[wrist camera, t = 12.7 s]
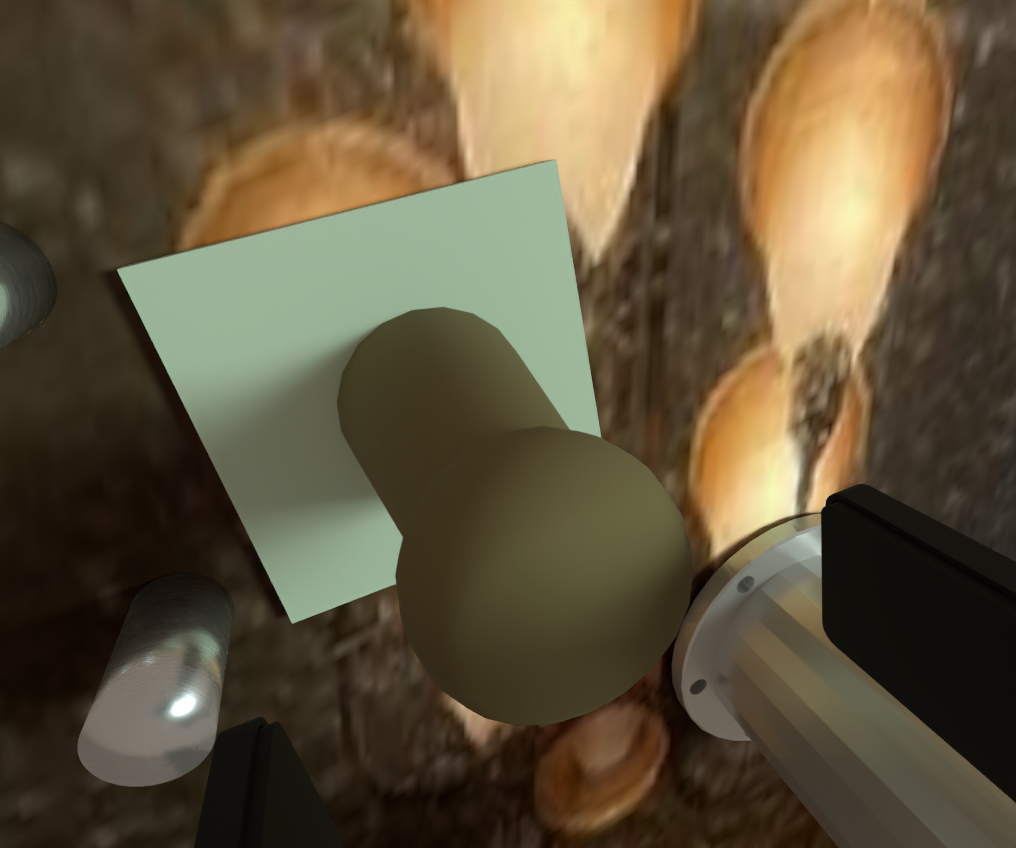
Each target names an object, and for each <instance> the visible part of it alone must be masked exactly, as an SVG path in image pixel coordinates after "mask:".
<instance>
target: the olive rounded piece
mask: <svg viewBox="0 0 1016 848" xmlns="http://www.w3.org/2000/svg"><path fill="white" fill-rule="evenodd" d="M337 408H338V414H339V420H340V427H341V432H342V434H343V436H344V437H345V439H346V441H347V443H348V445H349V446H350V448H351V450H352V452H353V454H354V455H355V457H356V459H357V461H358V462H359V464H360V466H361V467H362V469H363V471H364V472H365V474H366V476H367V478H368V479H369V481H370V483H371V484H372V486H373V488H374V489H375V491H376V493H377V494H378V496H379V498H380V500H381V501H382V503H383V505H384V506H385V508H386V510H387V511H388V513H389V515H390V517H391V518H392V520H393V522H394V523H395V525H396V527H397V528H398V530H399V532H400V533H401V535H402V537H403V539H402V543H401V547H400V552H399V556H398V562H397V568H396V573H395V578H396V586H397V593H398V600H399V608H400V615H401V619H402V624H403V629H404V633H405V637H406V639H407V640H408V642H409V644H410V645H411V647H412V649H413V650H414V652H415V654H416V655H417V657H418V658H419V660H420V662H421V663H422V665H423V667H424V668H425V670H426V671H427V673H428V674H429V676H430V677H431V679H432V680H433V681H434V683H435V684H436V686H437V687H438V688H439V689H440V690H442V691H443V692H445V693H446V694H448V695H449V696H450V697H452V698H453V699H455V700H456V701H458V702H459V703H461V704H462V705H464V706H465V707H466V708H468V709H470V710H472V711H473V712H475V713H477V714H479V715H481V716H483V717H484V718H487V719H491V720H495V721H499V722H504V723H508V724H512V725H516V726H528V725H544V724H556V723H559V722H562V721H565V720H568V719H572V718H575V717H578V716H581V715H584V714H587V713H590V712H593V711H594V710H596V709H598V708H599V707H601V706H603V705H605V704H606V703H608V702H610V701H612V700H613V699H615V698H617V697H619V696H620V695H622V694H624V693H625V692H626V691H628V690H629V689H630V688H631V687H632V686H633V685H634V684H635V683H637V682H638V681H639V680H640V679H641V678H642V677H643V676H644V675H646V674H647V673H648V672H649V671H650V670H651V669H652V668H653V667H654V666H655V665H656V664H657V662H658V661H659V659H660V658H661V657H662V655H663V654H664V653H665V651H666V650H667V648H668V647H669V646H670V644H671V643H672V642H673V640H674V639H675V638H676V636H677V633H678V631H679V628H680V626H681V624H682V621H683V619H684V616H685V614H686V611H687V609H688V607H689V604H690V595H691V585H692V575H693V566H692V556H691V548H690V544H689V540H688V537H687V533H686V529H685V525H684V521H683V517H682V515H681V513H680V512H679V510H678V508H677V507H676V505H675V503H674V502H673V500H672V498H671V497H670V495H669V494H668V493H667V491H666V490H665V489H664V488H663V486H662V485H661V484H660V482H659V481H658V480H657V478H656V477H655V476H654V475H653V473H652V472H651V471H650V469H649V468H648V467H646V466H645V465H644V464H642V463H641V462H640V461H639V460H637V459H636V458H635V457H633V456H632V455H631V454H629V453H627V452H625V451H623V450H622V449H620V448H618V447H616V446H615V445H613V444H611V443H609V442H607V441H606V440H604V439H602V438H600V437H598V436H595V435H591V434H588V433H584V432H580V431H574V430H570V429H569V427H568V426H567V425H566V423H565V422H564V420H563V419H562V417H561V416H560V414H559V413H558V411H557V410H556V408H555V407H554V405H553V404H552V403H551V401H550V400H549V398H548V397H547V395H546V394H545V392H544V391H543V389H542V388H541V386H540V385H539V384H538V382H537V381H536V379H535V378H534V376H533V375H532V373H531V372H530V370H529V369H528V367H527V366H526V365H525V363H524V362H523V360H522V359H521V357H520V356H519V354H518V353H517V351H516V350H515V349H514V348H513V346H512V345H511V344H510V343H509V341H508V340H507V339H506V338H505V336H504V335H503V334H502V333H501V332H500V330H499V329H498V328H496V327H495V326H493V325H491V324H490V323H488V322H486V321H485V320H483V319H482V318H480V317H478V316H477V315H475V314H473V313H469V312H465V311H460V310H456V309H451V308H447V307H437V308H427V309H417V310H411V311H409V312H406V313H404V314H402V315H400V316H397V317H395V318H393V319H391V320H388V321H386V322H384V323H382V324H381V325H380V326H379V327H377V328H376V329H375V330H374V331H373V332H372V333H371V334H370V335H369V336H367V337H366V338H365V339H364V340H363V341H362V342H361V343H360V344H358V346H357V348H356V349H355V351H354V353H353V355H352V356H351V358H350V360H349V362H348V363H347V365H346V367H345V369H344V370H343V372H342V377H341V382H340V387H339V393H338V398H337Z"/></svg>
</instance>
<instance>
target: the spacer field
mask: <svg viewBox="0 0 1016 848" xmlns="http://www.w3.org/2000/svg"><path fill="white" fill-rule="evenodd" d="M56 295H57V285H56V278H55V275H54V272H53V269H52V267H51V265H50V263H49V261H48V259H47V258H46V256H45V255H44V253H43V252H42V251H41V250H40V248H39V247H38V246H37V245H36V244H35V243H34V242H33V241H32V240H31V239H29V238H28V237H27V236H26V235H25V234H23V233H22V232H20V231H19V230H17V229H16V228H14V227H12V226H10V225H8V224H6V223H4V222H1V221H0V349H1V348H2V347H4V346H6V345H8V344H10V343H11V342H13V341H15V340H17V339H18V338H20V337H22V336H24V335H25V334H27V333H29V332H31V331H33V330H34V329H36V328H37V327H39V326H40V325H41V324H42V323H43V322H44V321H45V320H46V319H47V318H48V316H49V315H50V313H51V311H52V310H53V307H54V304H55V301H56ZM233 611H234V608H233V602H232V599H231V597H230V595H229V593H228V592H227V591H226V589H225V588H224V587H223V586H221V585H220V584H219V583H217V582H216V581H214V580H212V579H210V578H207V577H204V576H200V575H196V574H174V575H169V576H165V577H162V578H159V579H157V580H155V581H153V582H151V583H149V584H148V585H146V586H145V587H144V588H143V589H141V590H140V591H139V592H138V594H137V595H136V596H135V598H134V599H133V601H132V603H131V606H130V608H129V611H128V613H127V616H126V619H125V621H124V624H123V626H122V629H121V631H120V634H119V636H118V639H117V642H116V644H115V647H114V649H113V652H112V654H111V657H110V660H109V662H108V665H107V667H106V670H105V672H104V675H103V677H102V680H101V683H100V685H99V688H98V690H97V693H96V695H95V698H94V701H93V703H92V706H91V708H90V711H89V713H88V716H87V718H86V721H85V724H84V726H83V729H82V731H81V734H80V736H79V740H78V754H79V758H80V760H81V762H82V764H83V765H84V767H85V768H86V769H87V770H88V771H89V772H90V773H92V774H93V775H94V776H96V777H98V778H99V779H101V780H104V781H106V782H109V783H112V784H116V785H122V786H133V787H136V786H150V785H156V784H161V783H164V782H168V781H171V780H173V779H176V778H178V777H180V776H182V775H184V774H186V773H188V772H189V771H191V770H192V769H194V768H195V767H196V766H198V765H199V764H200V763H201V762H202V761H203V760H204V759H205V758H206V757H207V755H208V754H209V752H210V751H211V749H212V747H213V745H214V741H215V737H216V730H217V723H218V716H219V709H220V702H221V695H222V688H223V682H224V675H225V668H226V661H227V654H228V647H229V640H230V633H231V626H232V619H233Z"/></svg>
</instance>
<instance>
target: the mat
mask: <svg viewBox="0 0 1016 848" xmlns="http://www.w3.org/2000/svg"><path fill="white" fill-rule="evenodd" d="M117 271H118V273H119V275H120V277H121V279H122V281H123V283H124V285H125V287H126V289H127V291H128V293H129V295H130V297H131V299H132V301H133V303H134V305H135V307H136V309H137V311H138V313H139V315H140V317H141V319H142V322H143V324H144V326H145V328H146V330H147V332H148V334H149V336H150V338H151V340H152V342H153V344H154V346H155V348H156V350H157V352H158V354H159V356H160V358H161V360H162V362H163V364H164V366H165V368H166V370H167V372H168V374H169V376H170V378H171V380H172V382H173V384H174V386H175V388H176V390H177V392H178V394H179V396H180V398H181V400H182V402H183V404H184V406H185V408H186V410H187V412H188V414H189V416H190V418H191V420H192V422H193V424H194V426H195V428H196V430H197V432H198V434H199V437H200V439H201V441H202V443H203V445H204V447H205V449H206V451H207V453H208V455H209V457H210V459H211V461H212V463H213V465H214V467H215V469H216V471H217V473H218V475H219V477H220V479H221V481H222V483H223V485H224V487H225V489H226V491H227V493H228V495H229V497H230V499H231V501H232V503H233V505H234V507H235V509H236V511H237V513H238V515H239V517H240V519H241V521H242V523H243V525H244V527H245V529H246V531H247V533H248V535H249V537H250V539H251V541H252V543H253V545H254V547H255V549H256V552H257V554H258V556H259V558H260V560H261V562H262V564H263V566H264V568H265V570H266V572H267V574H268V576H269V578H270V580H271V582H272V584H273V586H274V588H275V590H276V592H277V594H278V596H279V598H280V600H281V602H282V604H283V606H284V608H285V610H286V612H287V614H288V616H289V618H290V620H291V622H292V624H293V623H295V622H298V621H300V620H303V619H306V618H308V617H311V616H313V615H316V614H319V613H321V612H324V611H326V610H329V609H332V608H334V607H337V606H339V605H342V604H345V603H347V602H350V601H352V600H355V599H358V598H360V597H363V596H365V595H368V594H371V593H373V592H376V591H378V590H381V589H384V588H386V587H389V586H391V585H394V584H396V578H395V573H396V568H397V562H398V556H399V552H400V547H401V543H402V539H403V537H402V535H401V533H400V532H399V530H398V528H397V527H396V525H395V523H394V522H393V520H392V518H391V517H390V515H389V513H388V511H387V510H386V508H385V506H384V505H383V503H382V501H381V500H380V498H379V496H378V494H377V493H376V491H375V489H374V488H373V486H372V484H371V483H370V481H369V479H368V478H367V476H366V474H365V472H364V471H363V469H362V467H361V466H360V464H359V462H358V461H357V459H356V457H355V455H354V454H353V452H352V450H351V448H350V446H349V445H348V443H347V441H346V439H345V437H344V436H343V434H342V432H341V427H340V420H339V414H338V408H337V398H338V393H339V387H340V382H341V377H342V372H343V370H344V369H345V367H346V365H347V363H348V362H349V360H350V358H351V356H352V355H353V353H354V351H355V349H356V348H357V346H358V344H360V343H361V342H362V341H363V340H364V339H365V338H366V337H367V336H369V335H370V334H371V333H372V332H373V331H374V330H375V329H376V328H377V327H379V326H380V325H381V324H382V323H384V322H386V321H388V320H391V319H393V318H395V317H397V316H400V315H402V314H404V313H406V312H409V311H411V310H417V309H427V308H437V307H447V308H451V309H456V310H460V311H465V312H469V313H473V314H475V315H477V316H478V317H480V318H482V319H483V320H485V321H486V322H488V323H490V324H491V325H493V326H495V327H496V328H498V329H499V330H500V332H501V333H502V334H503V335H504V336H505V338H506V339H507V340H508V341H509V343H510V344H511V345H512V346H513V348H514V349H515V350H516V351H517V353H518V354H519V356H520V357H521V359H522V360H523V362H524V363H525V365H526V366H527V367H528V369H529V370H530V372H531V373H532V375H533V376H534V378H535V379H536V381H537V382H538V384H539V385H540V386H541V388H542V389H543V391H544V392H545V394H546V395H547V397H548V398H549V400H550V401H551V403H552V404H553V405H554V407H555V408H556V410H557V411H558V413H559V414H560V416H561V417H562V419H563V420H564V422H565V423H566V425H567V426H568V427H569V429H570V430H574V431H580V432H584V433H588V434H591V435H595V436H598V437H600V438H601V434H600V428H599V422H598V415H597V409H596V403H595V397H594V390H593V384H592V378H591V372H590V366H589V359H588V353H587V347H586V341H585V334H584V328H583V322H582V316H581V310H580V303H579V297H578V291H577V285H576V278H575V272H574V266H573V260H572V253H571V247H570V241H569V235H568V229H567V222H566V216H565V210H564V204H563V197H562V191H561V185H560V179H559V173H558V166H557V160H547V161H543V162H539V163H535V164H531V165H527V166H523V167H519V168H515V169H511V170H507V171H503V172H499V173H495V174H491V175H487V176H483V177H479V178H475V179H471V180H467V181H463V182H459V183H455V184H451V185H447V186H443V187H439V188H435V189H431V190H427V191H423V192H419V193H415V194H411V195H407V196H403V197H399V198H395V199H391V200H387V201H383V202H379V203H375V204H371V205H367V206H363V207H359V208H355V209H351V210H347V211H343V212H339V213H335V214H331V215H327V216H323V217H319V218H315V219H311V220H307V221H303V222H299V223H295V224H291V225H287V226H283V227H279V228H275V229H271V230H267V231H263V232H259V233H255V234H251V235H247V236H243V237H239V238H235V239H231V240H227V241H223V242H219V243H215V244H211V245H207V246H203V247H199V248H195V249H191V250H187V251H183V252H179V253H175V254H171V255H167V256H163V257H159V258H155V259H151V260H147V261H143V262H139V263H135V264H131V265H127V266H123V267H121V268H119V269H117Z"/></svg>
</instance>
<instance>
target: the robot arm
mask: <svg viewBox="0 0 1016 848" xmlns="http://www.w3.org/2000/svg"><path fill="white" fill-rule="evenodd" d="M671 666H672V682H673V686H674V689H675V692H676V695H677V698H678V700H679V702H680V703H681V705H682V706H683V707H684V709H685V710H686V712H687V713H688V715H689V716H690V718H691V719H692V720H693V721H694V722H695V723H696V724H697V725H698V726H699V727H700V728H701V729H702V730H703V731H705V732H707V733H709V734H711V735H713V736H715V737H718V738H722V739H727V740H731V741H752V742H753V743H754V744H755V746H756V747H757V748H758V749H759V751H760V752H761V753H762V754H763V755H764V757H765V758H766V759H767V760H768V762H769V763H770V764H771V765H772V766H773V768H774V769H775V770H776V771H777V773H778V774H779V775H780V776H781V778H782V779H783V780H784V781H785V782H786V784H787V785H788V786H789V787H790V789H791V790H792V791H793V792H794V793H795V795H796V796H797V797H798V798H799V800H800V801H801V802H802V803H803V805H804V806H805V807H806V808H807V809H808V811H809V812H810V813H811V814H812V816H813V817H814V818H815V819H816V820H817V822H818V823H819V824H820V825H821V827H822V828H823V829H824V830H825V831H826V833H827V834H828V835H829V836H830V838H831V839H832V840H833V841H834V843H835V844H836V845H837V846H838V847H839V848H1016V562H1015V561H1013V560H1011V559H1009V558H1007V557H1005V556H1004V555H1002V554H1000V553H998V552H996V551H994V550H992V549H990V548H988V547H986V546H984V545H982V544H980V543H979V542H977V541H975V540H973V539H971V538H969V537H967V536H965V535H963V534H961V533H959V532H957V531H955V530H953V529H952V528H950V527H948V526H946V525H944V524H942V523H940V522H938V521H936V520H934V519H932V518H930V517H928V516H927V515H925V514H923V513H921V512H919V511H917V510H915V509H913V508H911V507H909V506H907V505H905V504H903V503H902V502H900V501H898V500H896V499H894V498H892V497H890V496H888V495H886V494H884V493H882V492H880V491H878V490H876V489H875V488H873V487H871V486H868V485H865V484H858V485H855V486H853V487H850V488H847V489H845V490H842V491H840V492H837V493H835V494H832V495H830V496H829V497H828V498H827V500H826V506H825V507H824V508H823V509H822V511H821V514H813V515H809V516H805V517H800V518H796V519H793V520H791V521H788V522H786V523H784V524H781V525H779V526H776V527H774V528H772V529H770V530H768V531H767V532H765V533H763V534H762V535H760V536H758V537H757V538H755V539H753V540H752V541H750V542H749V543H747V544H746V545H745V546H744V547H742V548H741V549H740V550H739V551H737V552H736V553H735V554H734V555H733V556H731V557H730V558H729V559H728V560H727V561H726V562H725V563H724V564H723V565H722V566H721V567H720V568H719V569H718V570H717V571H716V572H715V573H714V574H713V576H712V577H711V578H710V579H709V580H708V582H707V583H706V584H705V586H704V587H703V588H702V590H701V591H700V593H699V594H698V595H697V597H696V598H695V599H694V601H693V603H692V605H691V607H690V609H689V611H688V612H687V614H686V616H685V618H684V620H683V622H682V625H681V628H680V631H679V633H678V636H677V639H676V642H675V645H674V652H673V658H672V665H671ZM194 848H344V847H343V842H342V839H341V836H340V834H339V831H338V829H337V827H336V826H335V824H334V822H333V820H332V818H331V816H330V814H329V813H328V811H327V809H326V807H325V805H324V803H323V801H322V799H321V798H320V796H319V794H318V792H317V790H316V788H315V786H314V785H313V783H312V781H311V779H310V777H309V775H308V773H307V772H306V770H305V768H304V766H303V764H302V762H301V760H300V758H299V757H298V755H297V753H296V751H295V749H294V747H293V745H292V744H291V742H290V740H289V738H288V736H287V734H286V732H285V730H284V729H283V727H282V725H281V724H280V723H279V722H274V723H272V724H269V725H268V723H267V722H266V720H265V719H264V718H262V717H259V718H256V719H253V720H251V721H248V722H246V723H243V724H241V725H238V726H235V727H233V728H230V729H228V730H225V731H223V732H221V733H220V734H219V735H218V737H217V740H216V743H215V748H214V753H213V758H212V763H211V768H210V773H209V778H208V782H207V787H206V792H205V797H204V802H203V807H202V812H201V817H200V822H199V827H198V832H197V837H196V842H195V846H194Z"/></svg>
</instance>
